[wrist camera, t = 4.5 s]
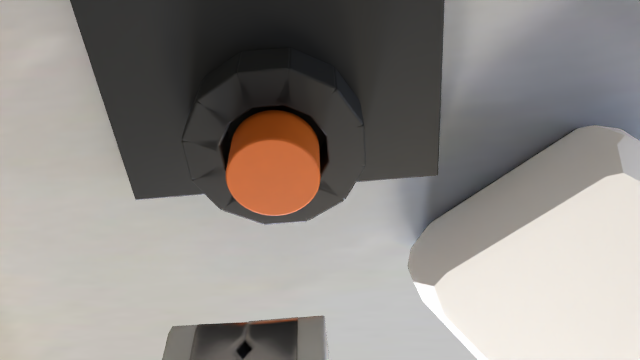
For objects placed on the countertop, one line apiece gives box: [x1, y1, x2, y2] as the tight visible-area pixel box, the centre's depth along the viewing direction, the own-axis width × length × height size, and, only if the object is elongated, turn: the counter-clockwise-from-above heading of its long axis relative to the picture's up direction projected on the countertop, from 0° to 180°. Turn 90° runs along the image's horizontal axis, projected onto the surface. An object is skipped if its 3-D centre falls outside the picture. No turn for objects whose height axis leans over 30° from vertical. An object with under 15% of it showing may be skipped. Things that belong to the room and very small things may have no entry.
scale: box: [70, 0, 444, 225], centre depth 17 cm, size 14×11×3 cm
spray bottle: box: [408, 125, 640, 360], centre depth 27 cm, size 3×11×24 cm
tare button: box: [226, 110, 320, 216], centre depth 18 cm, size 3×3×2 cm
